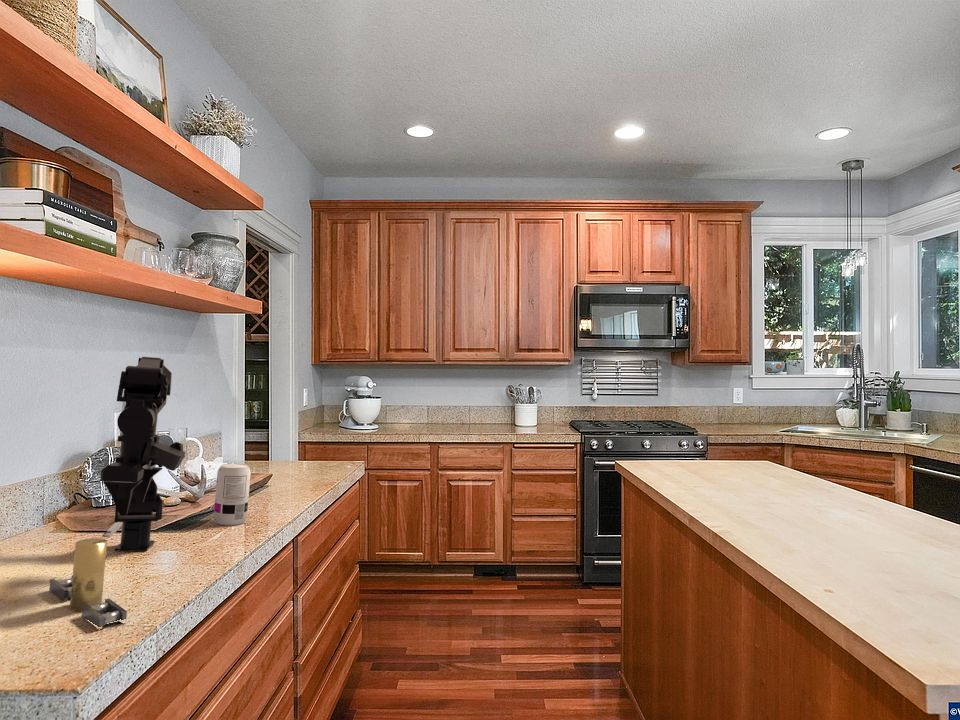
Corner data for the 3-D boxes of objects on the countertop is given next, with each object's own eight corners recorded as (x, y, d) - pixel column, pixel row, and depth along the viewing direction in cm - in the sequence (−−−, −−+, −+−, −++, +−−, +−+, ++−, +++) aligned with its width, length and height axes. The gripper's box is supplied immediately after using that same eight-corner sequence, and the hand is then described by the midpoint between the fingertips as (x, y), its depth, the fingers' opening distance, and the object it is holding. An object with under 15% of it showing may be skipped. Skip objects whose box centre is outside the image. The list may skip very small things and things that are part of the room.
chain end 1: (49, 590, 110) (50, 579, 110) (74, 585, 113) (75, 574, 113) (63, 602, 105) (64, 590, 105) (89, 596, 109) (90, 585, 109)
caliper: (138, 515, 162) (140, 492, 162) (142, 515, 162) (144, 492, 162) (104, 537, 142) (106, 511, 142) (109, 538, 142) (111, 511, 142)
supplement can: (206, 523, 159) (211, 466, 159) (226, 516, 167) (231, 461, 167) (233, 527, 157) (238, 469, 157) (252, 520, 165) (257, 465, 165)
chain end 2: (81, 616, 101) (82, 604, 101) (107, 610, 104) (109, 598, 104) (98, 630, 96) (99, 617, 96) (125, 623, 100) (126, 611, 100)
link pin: (82, 599, 107) (88, 537, 107) (107, 602, 107) (113, 539, 107) (63, 610, 103) (69, 544, 103) (89, 612, 102) (94, 547, 102)
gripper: (169, 438, 113) (162, 523, 112) (194, 427, 131) (188, 500, 131) (103, 435, 110) (95, 521, 110) (137, 424, 128) (131, 498, 128)
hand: (131, 509), depth 120 cm, fingers open, 9 cm apart
